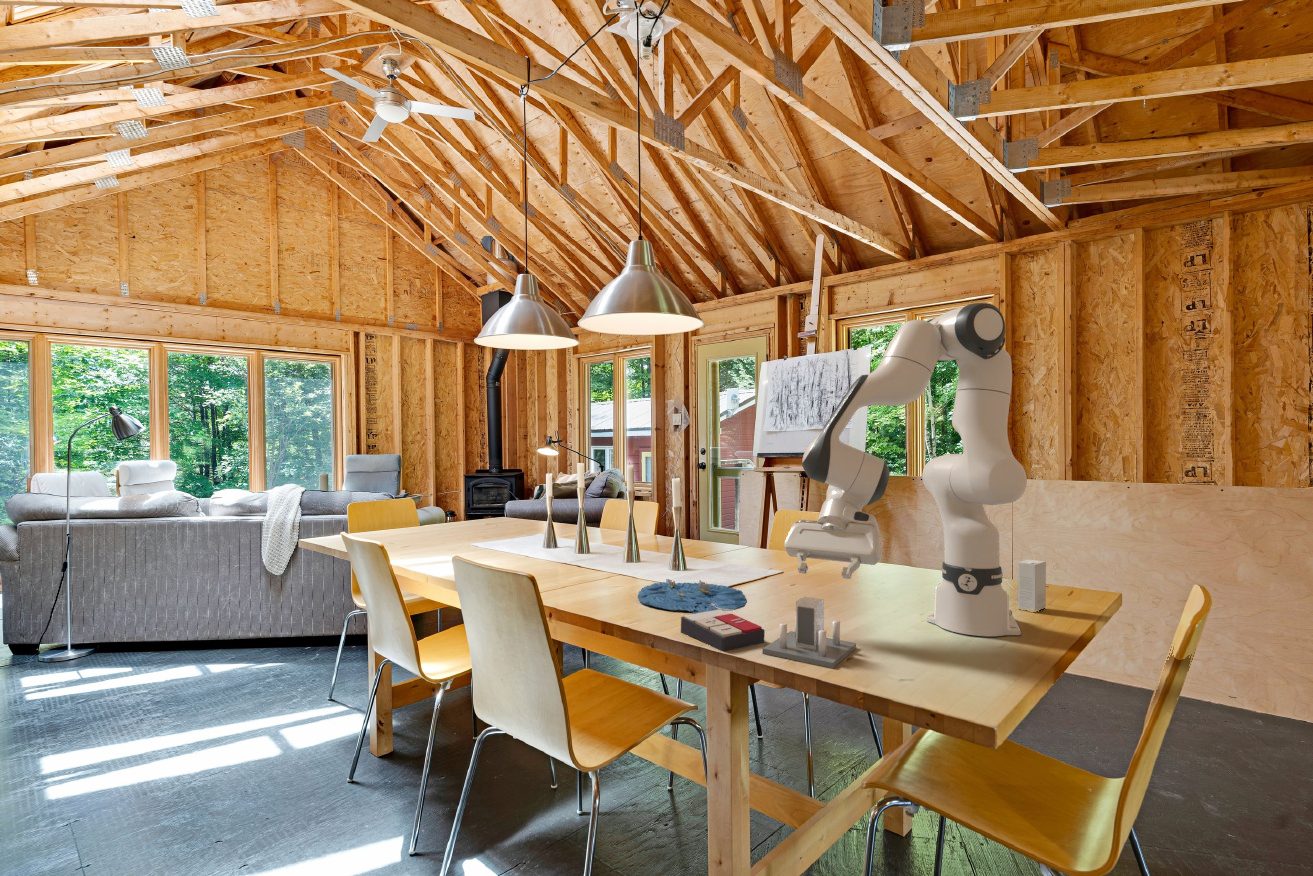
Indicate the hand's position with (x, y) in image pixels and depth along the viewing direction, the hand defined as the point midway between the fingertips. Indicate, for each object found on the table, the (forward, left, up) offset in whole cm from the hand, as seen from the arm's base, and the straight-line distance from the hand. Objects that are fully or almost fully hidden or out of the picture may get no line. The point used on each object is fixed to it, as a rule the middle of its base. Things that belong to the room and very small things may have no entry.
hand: (823, 574), depth 128 cm
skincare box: (-55, +34, -14) cm, 66 cm away
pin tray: (+7, 0, -14) cm, 16 cm away
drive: (+7, 0, -13) cm, 15 cm away
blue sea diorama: (-16, -41, -15) cm, 46 cm away
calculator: (+10, -19, -14) cm, 26 cm away
